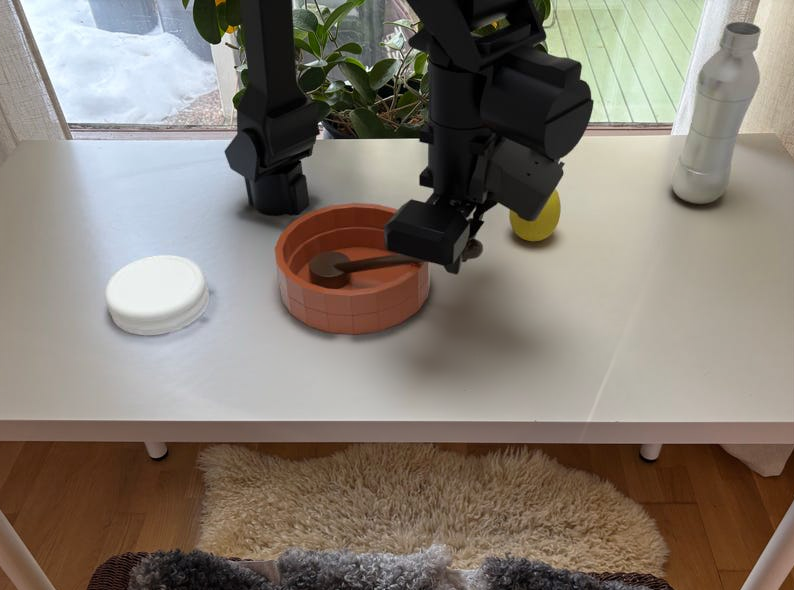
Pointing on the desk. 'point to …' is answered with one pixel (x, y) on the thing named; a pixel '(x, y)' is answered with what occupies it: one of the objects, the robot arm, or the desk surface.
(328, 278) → the brown utensil
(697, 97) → the plastic bottle
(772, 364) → the desk surface
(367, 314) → the bowl
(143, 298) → the white round lid
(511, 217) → the lemon
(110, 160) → the desk surface
